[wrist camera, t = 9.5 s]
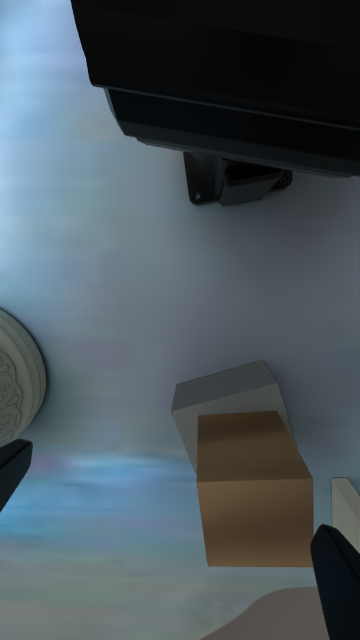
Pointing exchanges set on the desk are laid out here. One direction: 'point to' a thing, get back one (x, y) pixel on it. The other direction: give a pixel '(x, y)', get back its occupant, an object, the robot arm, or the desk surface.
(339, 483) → the plaque
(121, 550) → the desk surface
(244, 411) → the base block
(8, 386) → the jar
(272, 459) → the walnut cube
